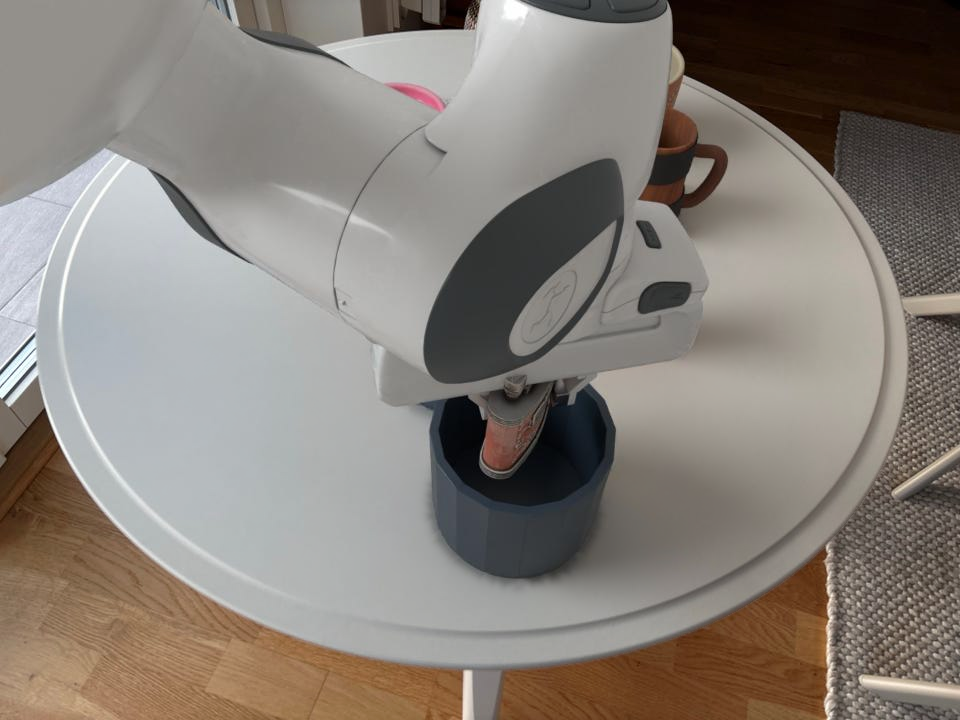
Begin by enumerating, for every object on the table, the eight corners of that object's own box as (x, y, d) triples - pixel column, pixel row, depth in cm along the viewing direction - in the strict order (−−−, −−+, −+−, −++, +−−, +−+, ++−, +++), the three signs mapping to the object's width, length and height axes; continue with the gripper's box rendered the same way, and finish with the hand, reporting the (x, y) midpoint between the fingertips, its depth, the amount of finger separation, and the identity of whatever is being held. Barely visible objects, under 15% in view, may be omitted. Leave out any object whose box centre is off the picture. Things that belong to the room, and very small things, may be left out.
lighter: (512, 487, 54) (529, 405, 46) (468, 466, 54) (478, 382, 46) (557, 403, 58) (580, 315, 50) (516, 384, 59) (533, 296, 51)
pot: (451, 593, 61) (450, 531, 52) (421, 448, 68) (416, 371, 59) (614, 559, 63) (641, 493, 54) (567, 422, 71) (583, 344, 61)
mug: (708, 250, 84) (739, 163, 75) (597, 235, 85) (615, 148, 76) (706, 197, 89) (736, 110, 80) (602, 184, 90) (619, 96, 81)
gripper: (362, 336, 39) (383, 470, 50) (737, 278, 42) (679, 417, 53) (348, 249, 43) (369, 391, 54) (694, 201, 46) (647, 346, 57)
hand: (526, 404), depth 54 cm, fingers closed on lighter, 3 cm apart
